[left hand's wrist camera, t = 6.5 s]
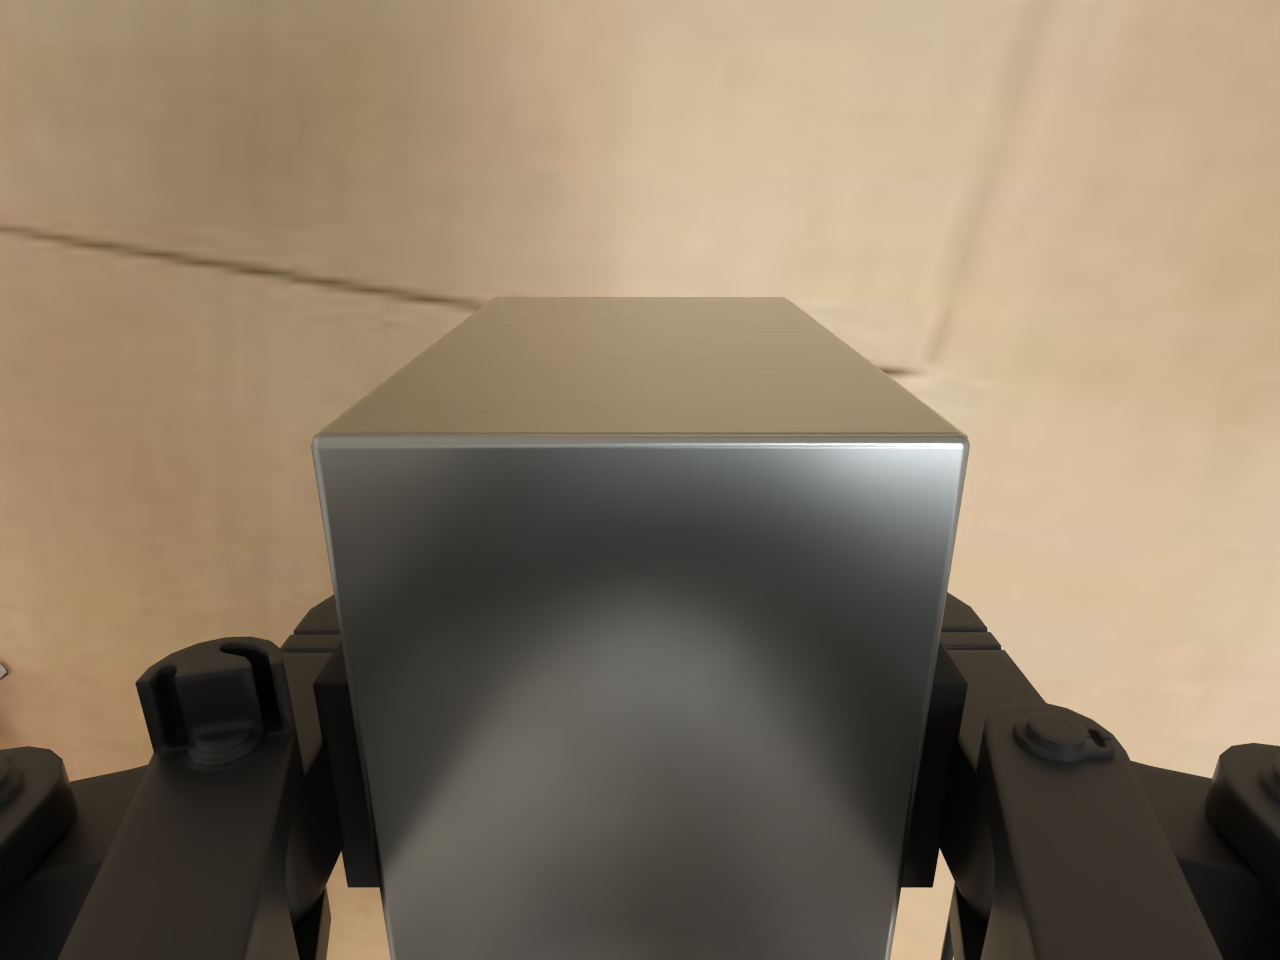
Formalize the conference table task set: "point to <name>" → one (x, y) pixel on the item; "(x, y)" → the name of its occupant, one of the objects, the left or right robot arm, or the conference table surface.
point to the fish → (3, 671)
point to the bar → (640, 630)
